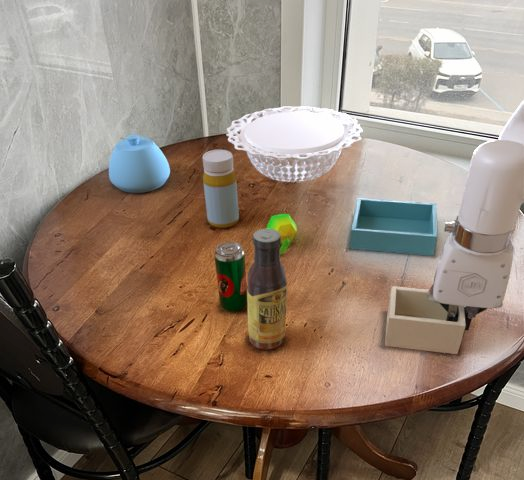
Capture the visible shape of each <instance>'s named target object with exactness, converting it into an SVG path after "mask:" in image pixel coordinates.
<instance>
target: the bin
mask: <svg viewBox="0 0 524 480" xmlns="http://www.w3.org/2000/svg"><path fill="white" fill-rule="evenodd" d="M437 210H438V209H437V203H432V202H419V201H405V200H393V199H392V200H391V199H390V200H389V199H378V198H377V199H374V198H364V197H363V198H362V197H357V199H356V204H355V208H354V214H353V220H352V223H351V229H350V239H349V240H350V242H349V249H350V250H358V251H359V250H360V251H370V252H372V251H373V252H382V253H393V254H395V253H396V254H407V255H417V256H429V257H434V255H435V251H436V246H437V240H438V211H437Z"/></svg>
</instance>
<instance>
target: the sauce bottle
mask: <svg viewBox="0 0 524 480" xmlns="http://www.w3.org/2000/svg"><path fill="white" fill-rule="evenodd" d="M252 244H253V246H254V257H253V263H252V265H251V266H250V267H249V270H248V272H247V275H246V282H247V333H248V338H249V342H250V344H251V345H252V346H253V347H254V348H256V349H257V350H258V349H259V350H263V351H264V350H266V351H267V350H269V351H270V350H274V349H277V348H279V347H280V346H281V345H282V344H283V342H284V341H285V335H286V331H287V330H286V329H287V299H288V298H287V296H288V295H287V293H288V289H287V288H288V283H287V282H288V281H287V276H286V273H285V272H286V271H285V268H284V265H283V264H282V262H281V255H280V248H281V235H280V233H279V232H278V231H276V230H274V229H267V228H261V229H258V230H256V231H254V233H253V235H252Z"/></svg>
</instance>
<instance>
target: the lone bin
mask: <svg viewBox="0 0 524 480" xmlns="http://www.w3.org/2000/svg"><path fill="white" fill-rule="evenodd" d="M429 290H430V289H424V288H414V287H403V286H396V285H395V286H394V285H393V286H391V288H390V294H389V299H388V300H389V301H388V307H387V313H386V324H385V325H386V326H385V337H384V338H385V339H384V346H385V347H389V348H390V347H391V348H399V349H408V350H416V351H425V352H426V351H427V352H434V353H441V354H442V353H444V354H451V355H458V354H459V350H460V347H461V343H462V341H463V338H464V336H463V334H464V335H465V332H464V330H465V327H466V324H465V312H464V307H465V306H460V305H457V306H458V322H452V321H446V318H447V314H448V312H447V311H446V310H445V309H444V308H443V307H442V306H441V305H440V304H439V303H435V302H432V301H429V300H428V299H427V293H428V291H429ZM465 331H466V330H465ZM462 337H463V338H462Z"/></svg>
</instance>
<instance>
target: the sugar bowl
mask: <svg viewBox="0 0 524 480" xmlns="http://www.w3.org/2000/svg"><path fill="white" fill-rule="evenodd" d="M170 174H171V169H170V164H169V162H168V159H167V157H166V155H165V154H164V153H163V151H162V150H161V149H160V148H159V147H158V145H157V144H156V143H155V141H153V140H152V139H151V138H148V137H144V136H140V135H139V134H136V133H133V134H128V135H127V136H126V137H125V138H124V139H121V140H120V141H118V142H117V143H116V144H115V146H114V148H113V150H112V152H111V155H110V158H109V164H108V177H109V181H110V182H111V184H112V185H113V186H115V188H117V189H119V190H120V191H122V192H125V193H128V194H129V193H130V194H142V193H148V192H152V191H155V190H157V189H159V188H161V187H162V186H164V185H165V184H166V182H167V180H168V179H169V177H170Z"/></svg>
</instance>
